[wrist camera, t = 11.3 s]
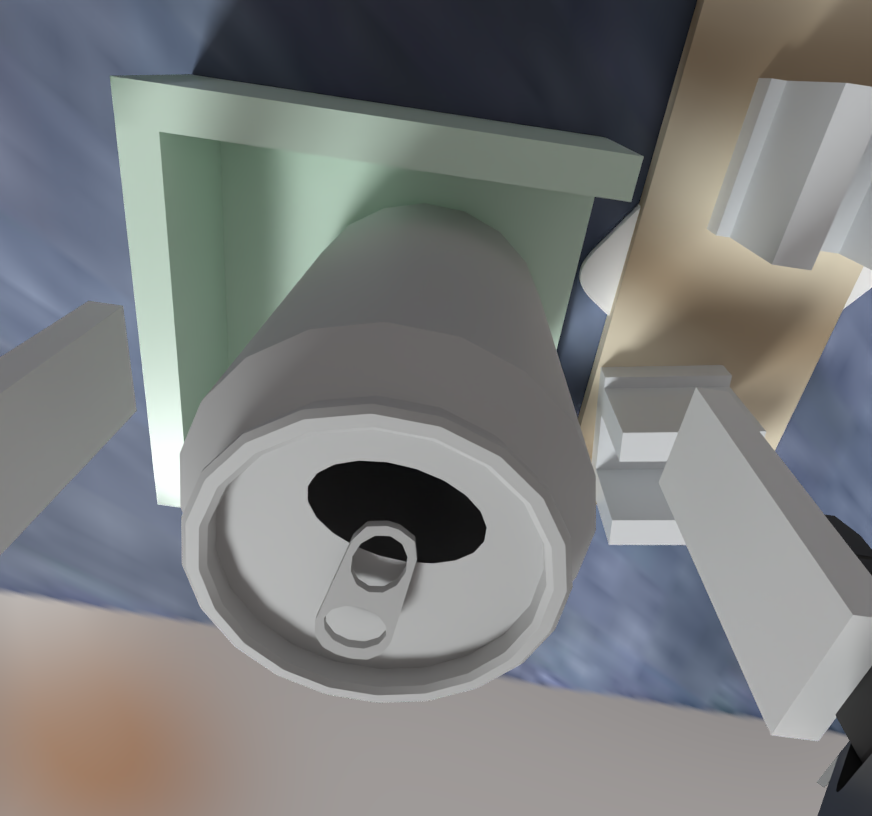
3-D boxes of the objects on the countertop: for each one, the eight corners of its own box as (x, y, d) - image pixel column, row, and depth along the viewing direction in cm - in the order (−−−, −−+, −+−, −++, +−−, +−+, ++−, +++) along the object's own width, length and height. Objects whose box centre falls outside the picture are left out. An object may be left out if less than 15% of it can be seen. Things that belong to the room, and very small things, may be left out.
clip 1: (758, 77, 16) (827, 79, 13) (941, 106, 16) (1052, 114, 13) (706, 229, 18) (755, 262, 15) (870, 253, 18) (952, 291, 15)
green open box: (191, 74, 17) (109, 75, 14) (605, 137, 18) (643, 156, 14) (210, 430, 23) (157, 504, 19) (522, 473, 24) (532, 555, 20)
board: (710, -45, 16) (718, -50, 15) (977, -3, 16) (994, -6, 15) (557, 489, 24) (559, 498, 23) (733, 513, 24) (739, 523, 23)
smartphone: (567, 276, 20) (1070, -217, 14) (564, 269, 20) (1042, -204, 14) (710, 412, 22) (1202, 37, 16) (703, 402, 22) (1173, 38, 16)
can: (579, 250, 19) (719, 478, 8) (486, 443, 22) (502, 776, 12) (344, 159, 18) (165, 286, 7) (286, 375, 21) (108, 672, 11)
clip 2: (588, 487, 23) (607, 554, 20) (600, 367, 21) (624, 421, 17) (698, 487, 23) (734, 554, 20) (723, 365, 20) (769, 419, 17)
